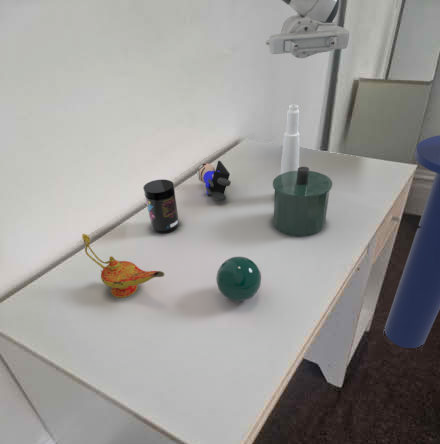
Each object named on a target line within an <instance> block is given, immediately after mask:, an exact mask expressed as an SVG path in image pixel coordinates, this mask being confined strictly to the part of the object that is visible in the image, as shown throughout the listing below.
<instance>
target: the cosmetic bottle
mask: <svg viewBox="0 0 440 444" xmlns="http://www.w3.org/2000/svg"><path fill="white" fill-rule="evenodd" d="M299 107H300V106H299V104H294V103H293V104H289V105H288V109H287V110H286V121H285V123H286V124H285V132H284V133H283V140H282V141H283V142H282V149H281V162H280V170H279V175H280V174H283V173H286V172H290V171H297V170H298V168H299V167H300V147H301V146H300V144H301V143H300V142H301V140H300V139H301V133H300V132H299V127H300V125H299V124H300V110H299Z"/></svg>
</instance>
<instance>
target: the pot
mask: <svg viewBox="0 0 440 444" xmlns="http://www.w3.org/2000/svg"><path fill="white" fill-rule="evenodd" d="M329 197H330V191H329V192H327V193H326V194H324V195H321V196H317V197H312V198H294V197H289V196H285V195H283V194H280V193H278V192H277V191H276V190H275V189H274V201H273V203H274V204H273V226H274V228H275V229H276V230H277V231H278V232H280V233H281V234H284V235H287V236H292V237H309V236H310V237H311V236H313V235H316V234H319V232H321V231H322V230H323V229H324V227H325V224H326V219H327V214H328V213H327V211H328V206H329V205H328V204H329Z"/></svg>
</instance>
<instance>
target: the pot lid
mask: <svg viewBox="0 0 440 444" xmlns="http://www.w3.org/2000/svg"><path fill="white" fill-rule="evenodd" d="M272 188H273V190H274V191H275V190H276V191H277V192H278V193H280V194H283V195H285V196H289V197H294V198H312V197H317V196H321V195H324V194H326V193H327V192H329V193H330V191H331V190H332V189H333V181H332V179H331V178H330V177H329V176H328V175H326V174H324V173H321V172H317V171H313V170H310V168H309V166H308V167H307V166H299V168H298V170H297V171H290V172H286V173H283V174H280V173H279V174H278V175H277V176H276V177H275V178H273V180H272Z"/></svg>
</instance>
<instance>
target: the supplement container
mask: <svg viewBox="0 0 440 444" xmlns="http://www.w3.org/2000/svg"><path fill="white" fill-rule="evenodd" d="M142 188H143V193H144V197H145V201H146V207H147V211H148V216H149V221H150V225H151V228H152V230H153V231H154V232H156V233H158V234H167V233H171V232H174V231H176V230H177V229H178V228H179V226H180V219H179V212H178V211H179V210H178V205H177V200H176V193H175V192H176V191H175V185H174V182H173V181H172V180H170V179H154V180H151V181H149V182H146V183H145V184H144V185H143V187H142Z"/></svg>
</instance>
